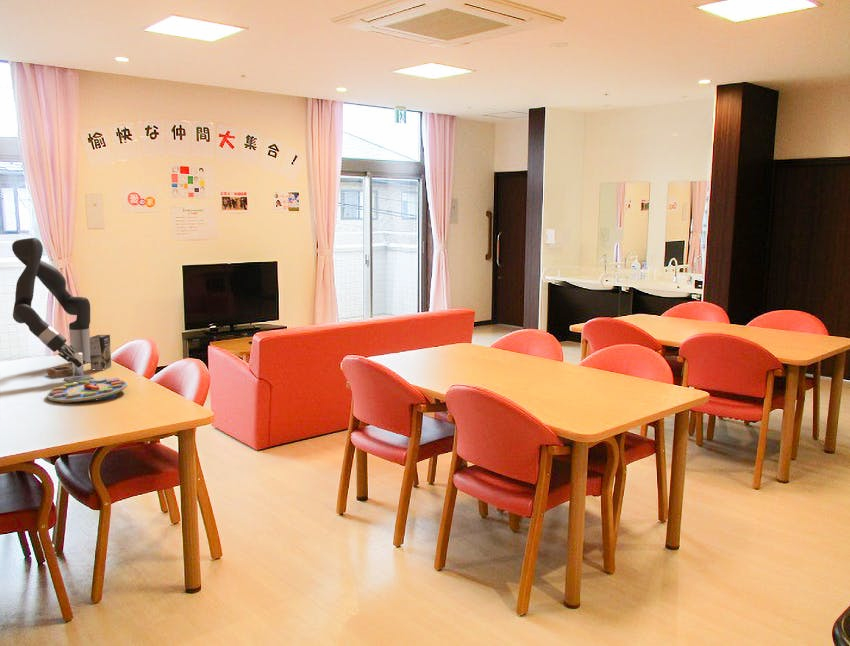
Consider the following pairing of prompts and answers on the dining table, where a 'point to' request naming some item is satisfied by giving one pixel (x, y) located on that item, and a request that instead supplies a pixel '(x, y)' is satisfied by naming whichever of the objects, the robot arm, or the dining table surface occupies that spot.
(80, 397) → the shape sorting clock
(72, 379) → the slate tile
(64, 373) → the pocket block
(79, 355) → the metal cylinder
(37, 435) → the dining table surface
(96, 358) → the coffee box
